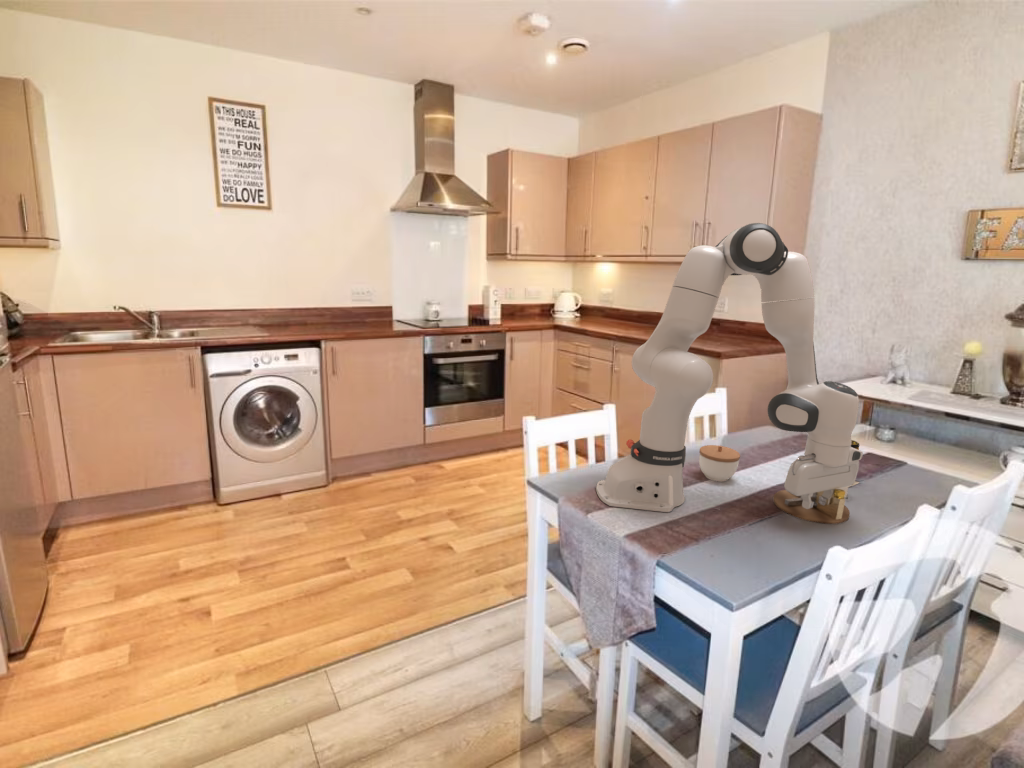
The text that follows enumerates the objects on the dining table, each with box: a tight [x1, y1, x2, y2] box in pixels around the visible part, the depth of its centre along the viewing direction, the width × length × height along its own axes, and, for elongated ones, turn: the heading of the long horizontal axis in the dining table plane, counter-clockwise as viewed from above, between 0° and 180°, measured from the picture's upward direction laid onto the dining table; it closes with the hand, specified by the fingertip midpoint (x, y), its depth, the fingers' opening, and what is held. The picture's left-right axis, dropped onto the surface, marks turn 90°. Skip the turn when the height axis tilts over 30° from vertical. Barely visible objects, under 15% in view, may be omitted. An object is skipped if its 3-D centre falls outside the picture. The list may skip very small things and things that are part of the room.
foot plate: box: [772, 489, 850, 525], centre depth 139 cm, size 17×17×1 cm
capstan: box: [785, 489, 846, 519], centre depth 137 cm, size 15×16×7 cm
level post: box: [836, 486, 849, 498], centre depth 145 cm, size 3×4×12 cm
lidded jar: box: [698, 444, 741, 483], centre depth 154 cm, size 11×11×9 cm
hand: (815, 506), depth 131 cm, fingers open, 4 cm apart
